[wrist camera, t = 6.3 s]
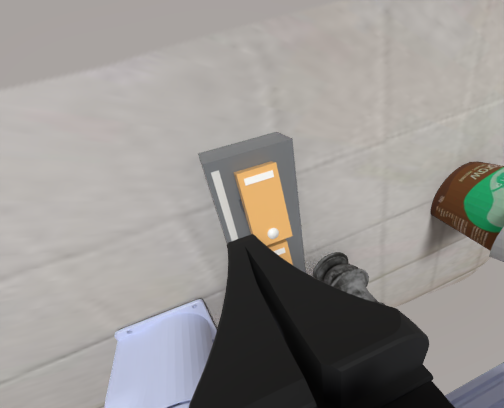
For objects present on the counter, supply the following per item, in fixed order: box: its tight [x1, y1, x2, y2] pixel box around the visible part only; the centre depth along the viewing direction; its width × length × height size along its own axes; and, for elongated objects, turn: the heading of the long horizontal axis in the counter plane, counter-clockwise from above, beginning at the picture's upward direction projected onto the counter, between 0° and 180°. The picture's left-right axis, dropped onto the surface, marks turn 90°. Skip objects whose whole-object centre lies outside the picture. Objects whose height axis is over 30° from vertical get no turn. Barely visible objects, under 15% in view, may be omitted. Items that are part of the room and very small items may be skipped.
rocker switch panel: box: [198, 132, 306, 273], centre depth 23 cm, size 7×22×4 cm, turn 11°
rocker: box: [234, 161, 293, 246], centre depth 18 cm, size 3×6×1 cm, turn 11°
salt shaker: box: [313, 252, 385, 305], centre depth 25 cm, size 6×6×12 cm
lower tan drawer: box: [267, 239, 293, 265], centre depth 21 cm, size 3×6×1 cm, turn 11°
